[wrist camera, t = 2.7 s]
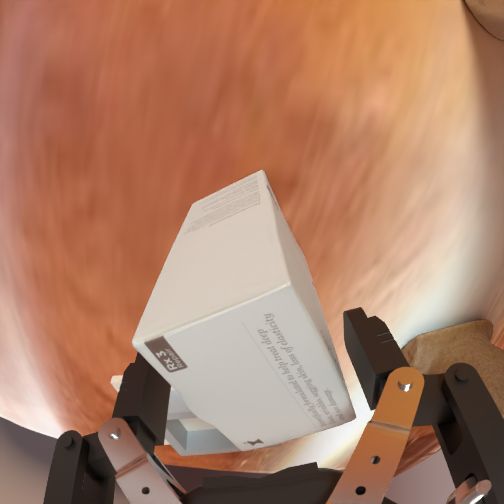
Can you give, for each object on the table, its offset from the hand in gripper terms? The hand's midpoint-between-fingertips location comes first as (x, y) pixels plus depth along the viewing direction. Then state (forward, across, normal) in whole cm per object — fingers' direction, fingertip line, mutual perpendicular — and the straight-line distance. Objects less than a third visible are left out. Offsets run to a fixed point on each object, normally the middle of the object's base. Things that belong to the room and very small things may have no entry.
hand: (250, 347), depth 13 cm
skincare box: (+12, 0, 0) cm, 12 cm away
